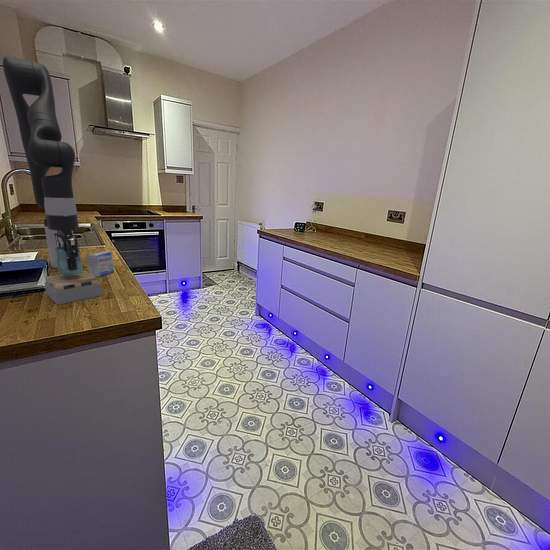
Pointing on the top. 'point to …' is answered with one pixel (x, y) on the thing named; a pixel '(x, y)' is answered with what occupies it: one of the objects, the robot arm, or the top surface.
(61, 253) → the teal upright block
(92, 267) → the medicine box
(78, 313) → the top surface
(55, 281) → the pallet
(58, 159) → the robot arm
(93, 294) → the platform
